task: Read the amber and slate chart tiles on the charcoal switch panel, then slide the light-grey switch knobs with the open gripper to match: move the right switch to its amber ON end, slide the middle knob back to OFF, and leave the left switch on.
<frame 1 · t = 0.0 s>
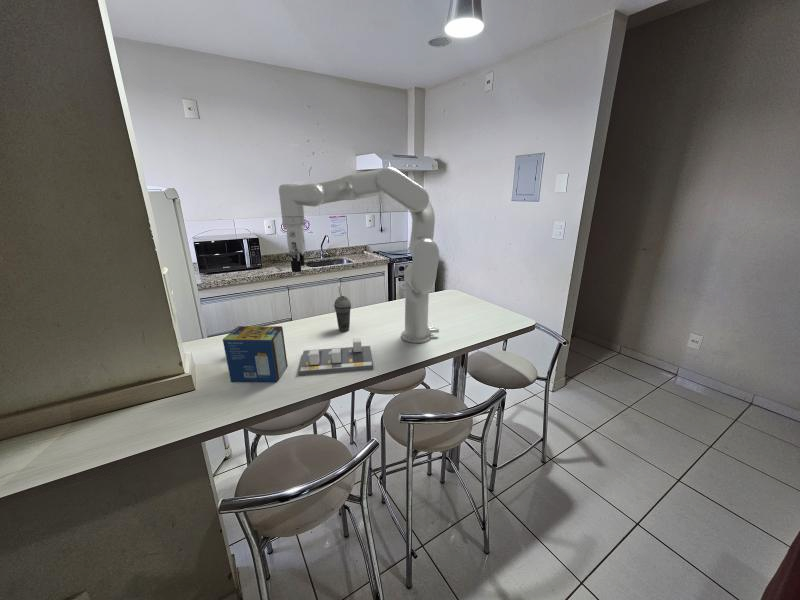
hand: (298, 268, 120), 31 cm above the breakfast bar, tool pointing down, fingers open, 9 cm apart
switch 2: (357, 345, 121), point 4 cm above the breakfast bar, slide at 0.0 cm
switch panel: (337, 360, 118), on the breakfast bar
beverage cup: (344, 330, 144), on the breakfast bar
protein box: (260, 374, 110), on the breakfast bar
switch 1: (314, 357, 113), point 4 cm above the breakfast bar, slide at 7.0 cm
switch middle: (336, 355, 114), point 4 cm above the breakfast bar, slide at 7.0 cm
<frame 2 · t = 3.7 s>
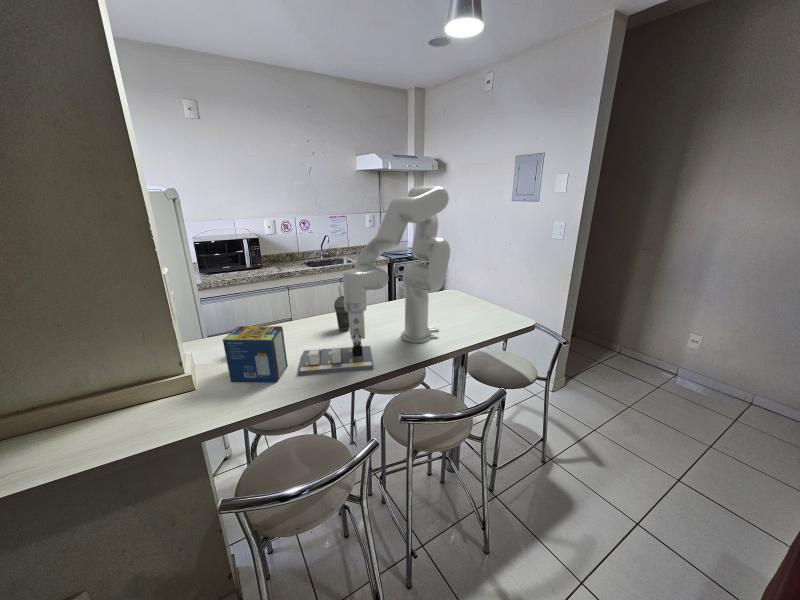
hand: (357, 349, 118), 4 cm above the breakfast bar, tool pointing down, fingers open, 9 cm apart
switch 2: (357, 345, 121), point 4 cm above the breakfast bar, slide at 0.6 cm, touching gripper
everything else where it was.
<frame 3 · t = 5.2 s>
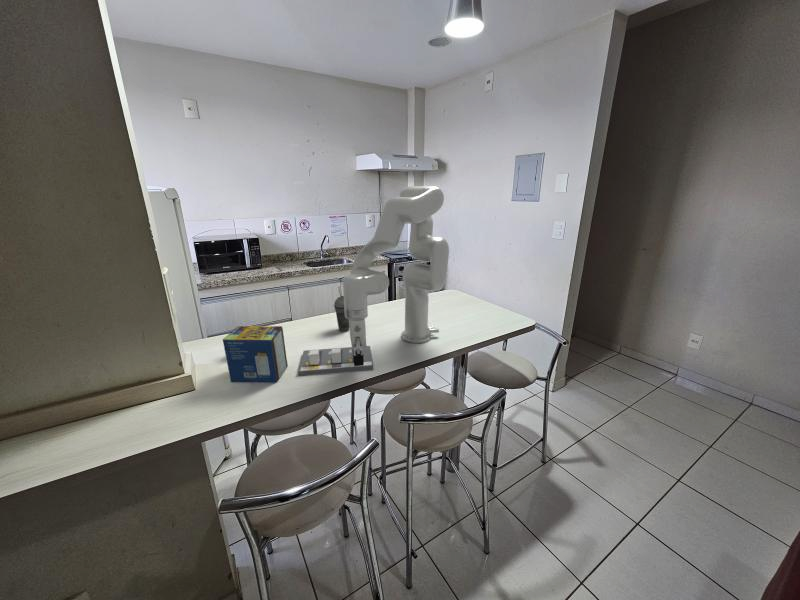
hand: (358, 358, 112), 4 cm above the breakfast bar, tool pointing down, fingers open, 9 cm apart
switch 2: (358, 353, 115), point 4 cm above the breakfast bar, slide at 6.8 cm, touching gripper
everything else where it was.
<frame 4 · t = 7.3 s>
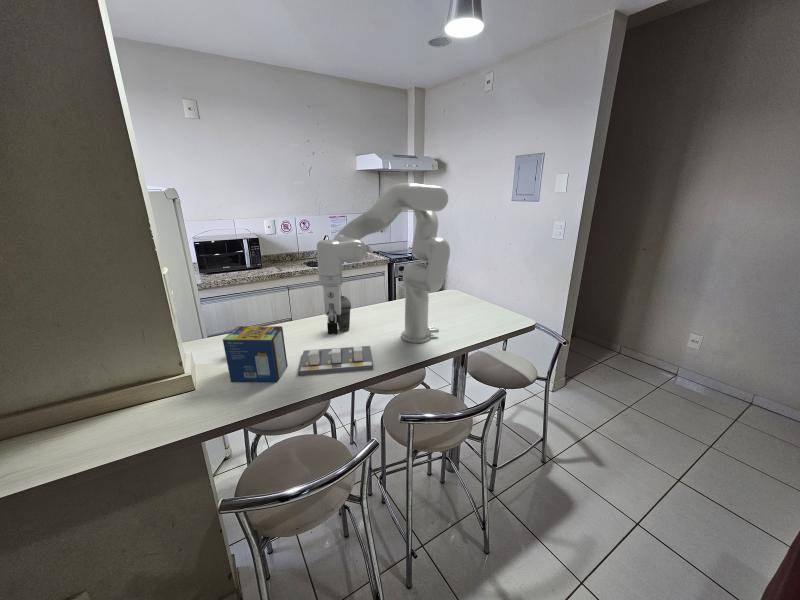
hand: (333, 328, 110), 15 cm above the breakfast bar, tool pointing down, fingers open, 9 cm apart
switch 2: (358, 353, 115), point 4 cm above the breakfast bar, slide at 6.8 cm
everything else where it was.
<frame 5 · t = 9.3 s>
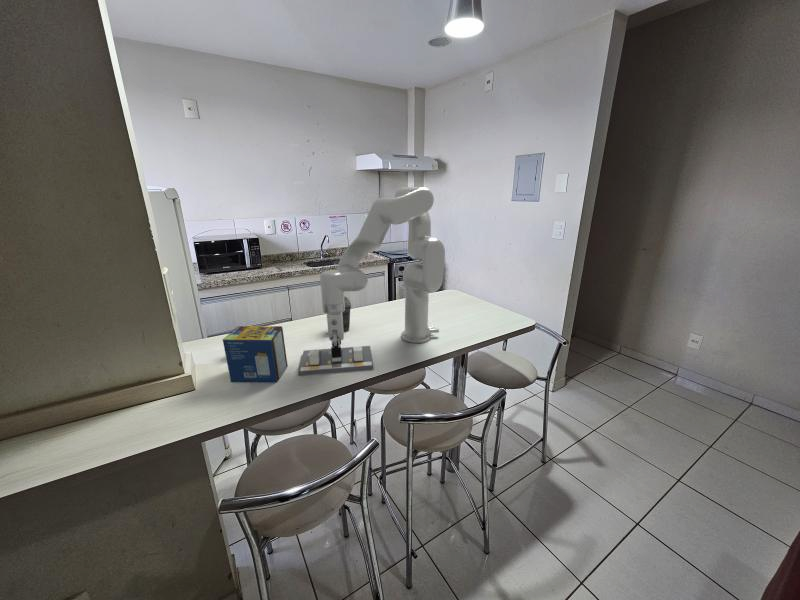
hand: (336, 350, 117), 4 cm above the breakfast bar, tool pointing down, fingers open, 9 cm apart
switch middle: (336, 354, 115), point 4 cm above the breakfast bar, slide at 5.9 cm, touching gripper
everything else where it was.
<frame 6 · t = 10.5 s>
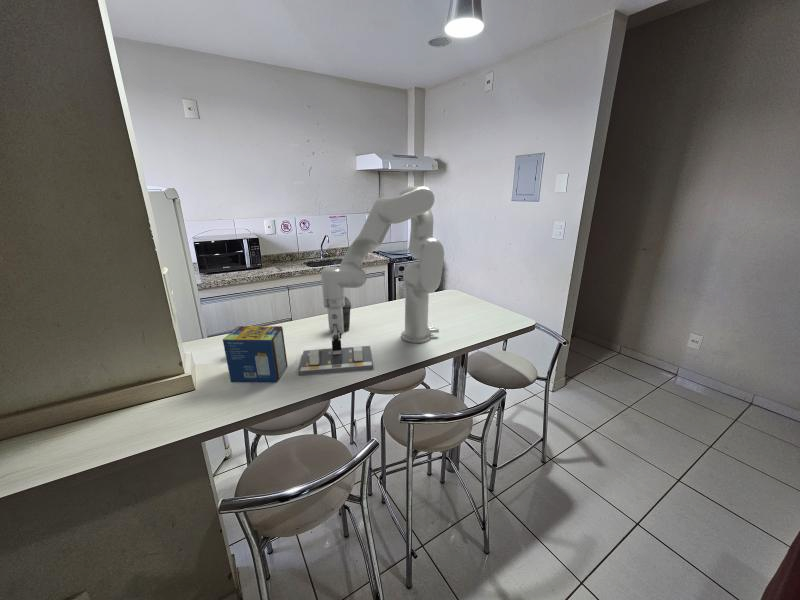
hand: (337, 344, 122), 4 cm above the breakfast bar, tool pointing down, fingers open, 9 cm apart
switch middle: (336, 347, 120), point 4 cm above the breakfast bar, slide at 0.7 cm, touching gripper
everything else where it was.
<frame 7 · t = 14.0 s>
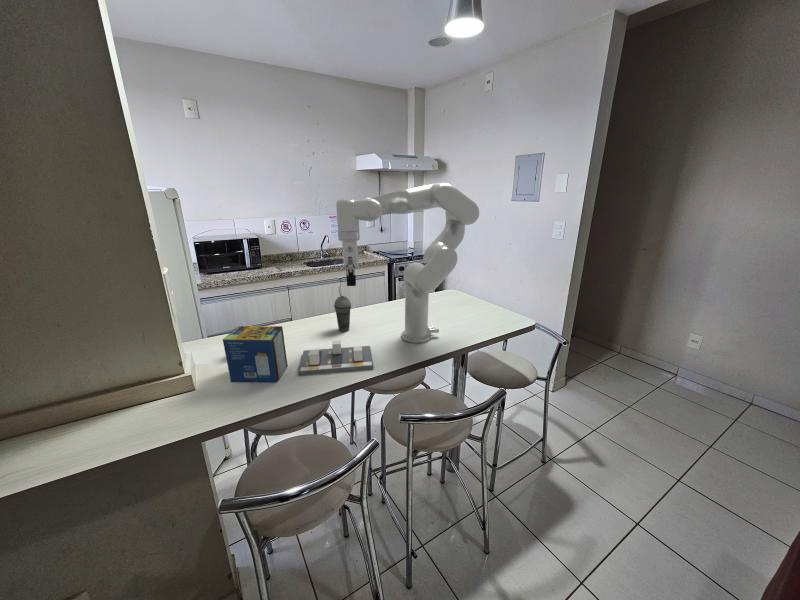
hand: (351, 282, 121), 26 cm above the breakfast bar, tool pointing down, fingers open, 9 cm apart
switch middle: (336, 347, 120), point 4 cm above the breakfast bar, slide at 0.4 cm
everything else where it was.
at the end: switch 2 slide at 6.8 cm; switch middle slide at 0.4 cm; switch 1 slide at 7.0 cm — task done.
